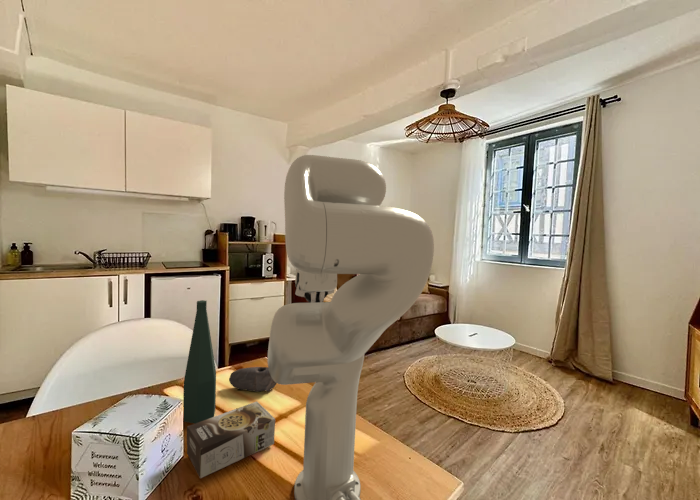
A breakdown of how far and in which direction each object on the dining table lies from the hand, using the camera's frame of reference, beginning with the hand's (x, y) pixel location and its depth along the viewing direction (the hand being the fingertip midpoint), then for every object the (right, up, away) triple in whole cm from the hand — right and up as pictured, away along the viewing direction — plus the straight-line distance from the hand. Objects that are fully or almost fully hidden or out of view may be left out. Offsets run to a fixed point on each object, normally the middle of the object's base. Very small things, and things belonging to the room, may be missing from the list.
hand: (314, 317), depth 81 cm
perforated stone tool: (-20, -26, +15) cm, 36 cm away
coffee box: (-11, -23, -6) cm, 26 cm away
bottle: (-30, -26, +1) cm, 40 cm away
